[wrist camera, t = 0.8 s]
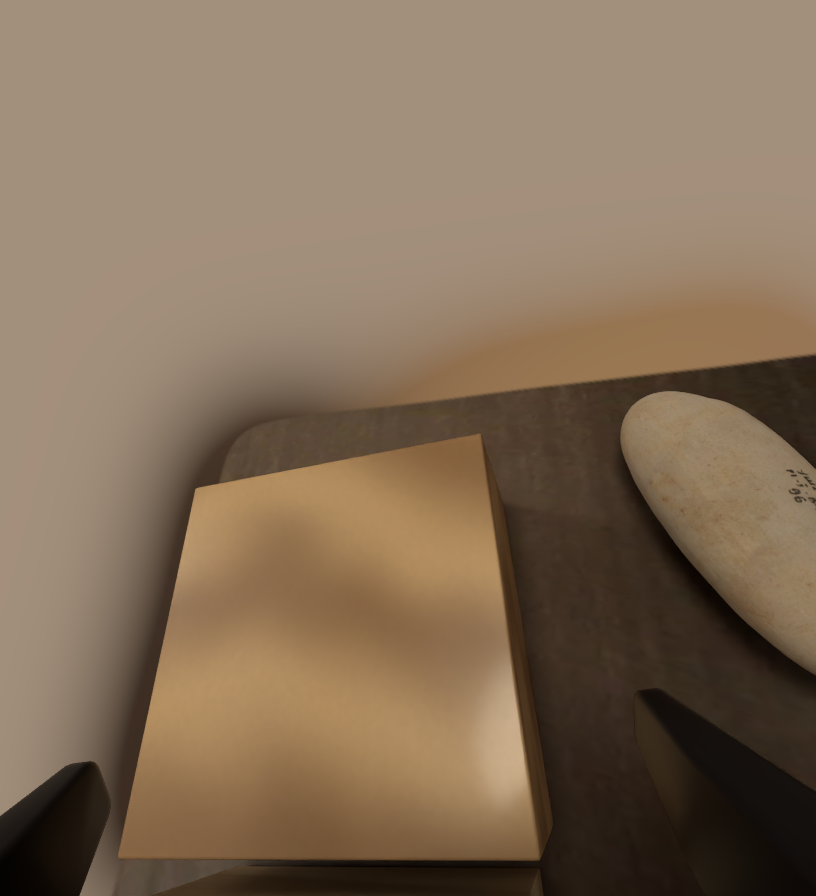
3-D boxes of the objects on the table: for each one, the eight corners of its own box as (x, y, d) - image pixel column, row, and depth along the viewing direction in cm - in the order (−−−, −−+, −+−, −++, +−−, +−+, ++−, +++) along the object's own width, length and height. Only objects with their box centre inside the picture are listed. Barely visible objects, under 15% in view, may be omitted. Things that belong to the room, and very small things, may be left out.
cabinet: (554, 826, 17) (541, 861, 12) (239, 830, 20) (115, 859, 15) (503, 503, 24) (481, 432, 19) (272, 539, 27) (195, 487, 22)
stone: (692, 360, 22) (1083, 526, 13) (666, 472, 26) (955, 666, 16) (585, 396, 21) (938, 614, 11) (573, 509, 24) (832, 747, 15)
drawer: (576, 1131, 13) (574, 1289, 9) (212, 1085, 16) (91, 1196, 12) (497, 564, 22) (479, 524, 18) (267, 595, 24) (206, 565, 20)
